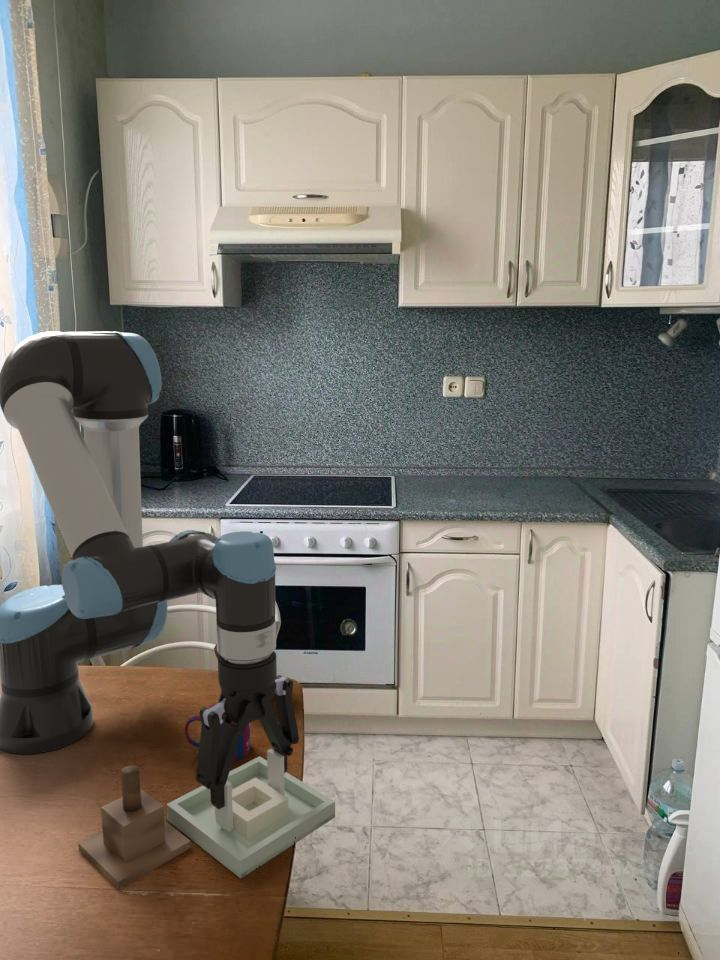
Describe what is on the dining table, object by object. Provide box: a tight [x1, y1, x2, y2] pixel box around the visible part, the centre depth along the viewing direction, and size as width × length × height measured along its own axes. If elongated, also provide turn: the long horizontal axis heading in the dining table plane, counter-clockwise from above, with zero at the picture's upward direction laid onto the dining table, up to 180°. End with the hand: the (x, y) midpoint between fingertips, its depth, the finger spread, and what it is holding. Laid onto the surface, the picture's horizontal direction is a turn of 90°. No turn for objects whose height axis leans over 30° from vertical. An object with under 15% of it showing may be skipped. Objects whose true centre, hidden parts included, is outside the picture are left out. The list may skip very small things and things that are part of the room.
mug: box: [184, 702, 251, 762], centre depth 116 cm, size 7×10×7 cm
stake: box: [77, 764, 192, 890], centre depth 93 cm, size 10×10×11 cm
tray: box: [166, 756, 336, 879], centre depth 100 cm, size 16×16×2 cm
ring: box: [215, 777, 289, 839], centre depth 100 cm, size 7×7×2 cm
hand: (251, 810), depth 100 cm, fingers open, 8 cm apart
